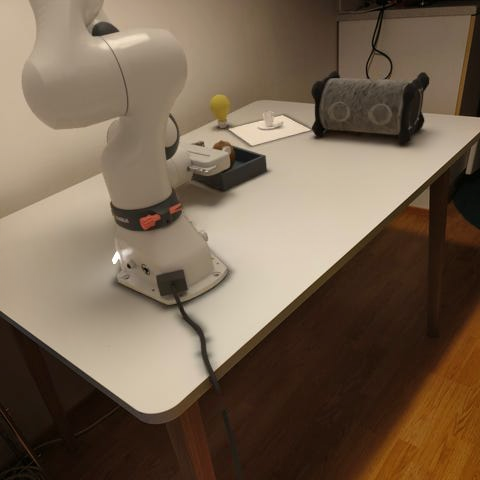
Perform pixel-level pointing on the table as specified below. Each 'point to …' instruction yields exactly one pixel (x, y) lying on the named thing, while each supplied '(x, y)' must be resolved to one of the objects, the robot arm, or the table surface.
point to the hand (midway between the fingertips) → (215, 146)
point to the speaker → (369, 105)
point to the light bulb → (220, 109)
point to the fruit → (232, 155)
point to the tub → (237, 170)
